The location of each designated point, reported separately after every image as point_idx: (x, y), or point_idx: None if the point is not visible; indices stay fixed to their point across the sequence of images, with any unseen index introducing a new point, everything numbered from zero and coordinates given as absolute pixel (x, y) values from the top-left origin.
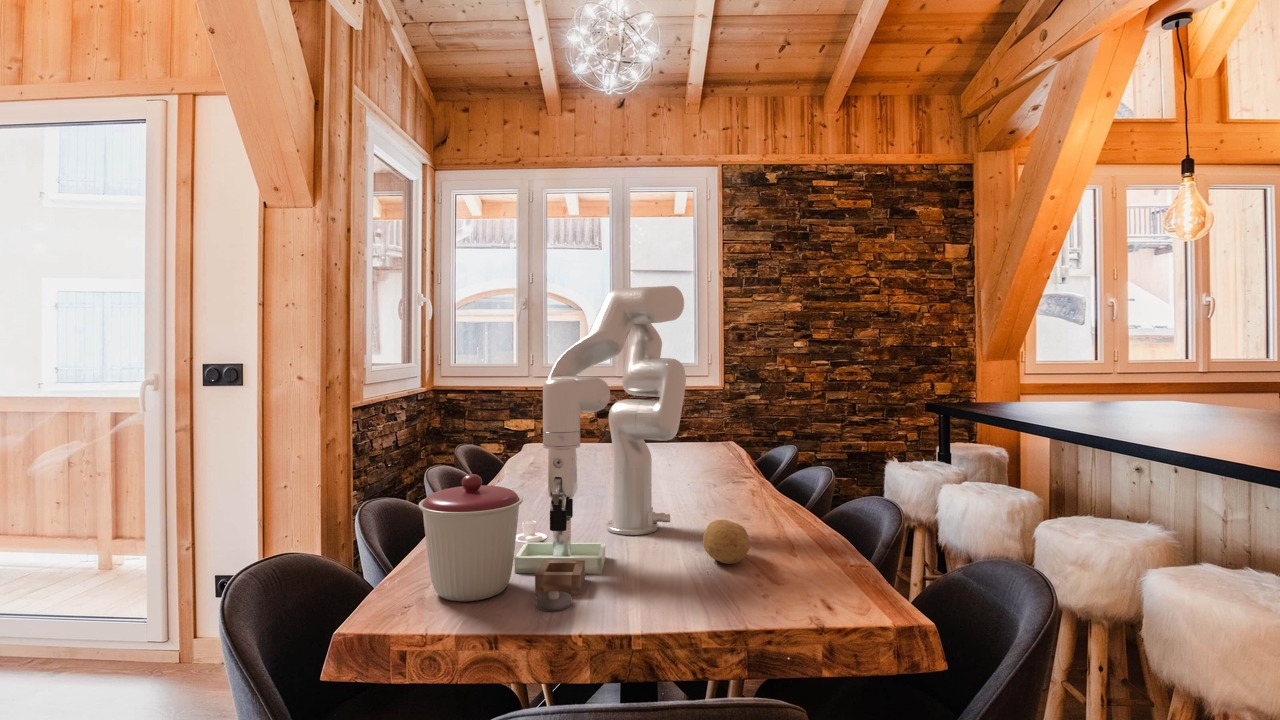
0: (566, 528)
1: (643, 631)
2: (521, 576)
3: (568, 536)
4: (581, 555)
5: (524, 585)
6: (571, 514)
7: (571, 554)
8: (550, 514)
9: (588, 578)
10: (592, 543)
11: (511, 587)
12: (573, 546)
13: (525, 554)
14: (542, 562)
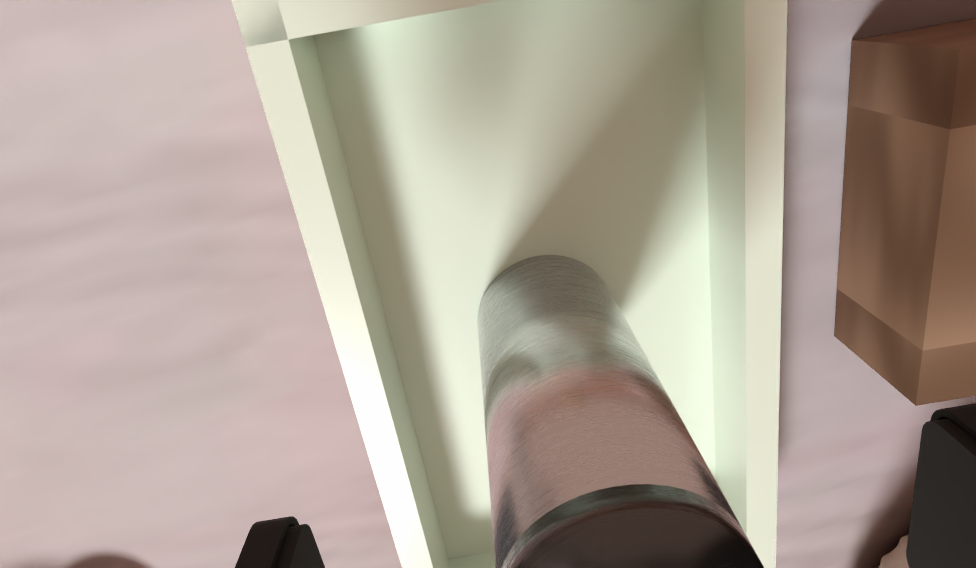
0: (964, 412)
1: None
2: (788, 460)
3: (631, 366)
4: (388, 209)
5: None
6: (297, 554)
7: (382, 294)
8: None
9: (838, 11)
10: (299, 143)
11: None
12: (369, 308)
13: None
14: (971, 390)
